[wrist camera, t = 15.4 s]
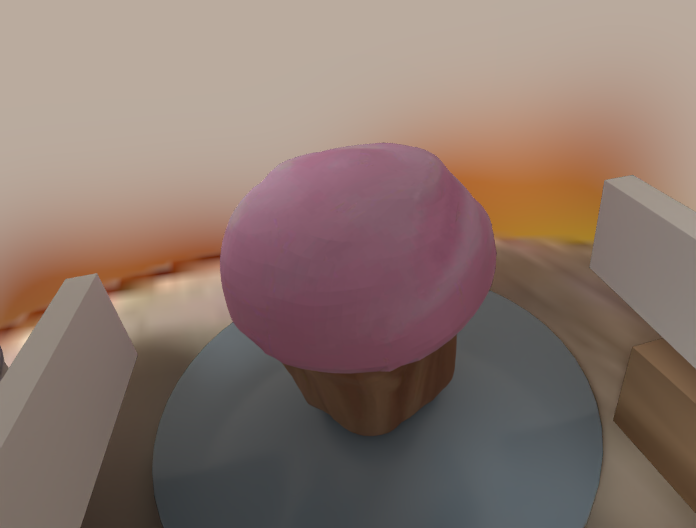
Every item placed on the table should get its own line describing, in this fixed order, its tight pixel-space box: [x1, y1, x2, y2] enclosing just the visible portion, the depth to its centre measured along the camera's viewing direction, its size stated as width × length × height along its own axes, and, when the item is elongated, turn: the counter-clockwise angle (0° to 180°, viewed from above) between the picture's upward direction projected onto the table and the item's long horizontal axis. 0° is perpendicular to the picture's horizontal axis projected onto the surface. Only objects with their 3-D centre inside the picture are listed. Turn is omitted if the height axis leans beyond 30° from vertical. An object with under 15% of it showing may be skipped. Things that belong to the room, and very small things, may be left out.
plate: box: [152, 290, 603, 528], centre depth 20 cm, size 17×17×1 cm
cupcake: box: [220, 143, 496, 436], centre depth 17 cm, size 9×9×10 cm
